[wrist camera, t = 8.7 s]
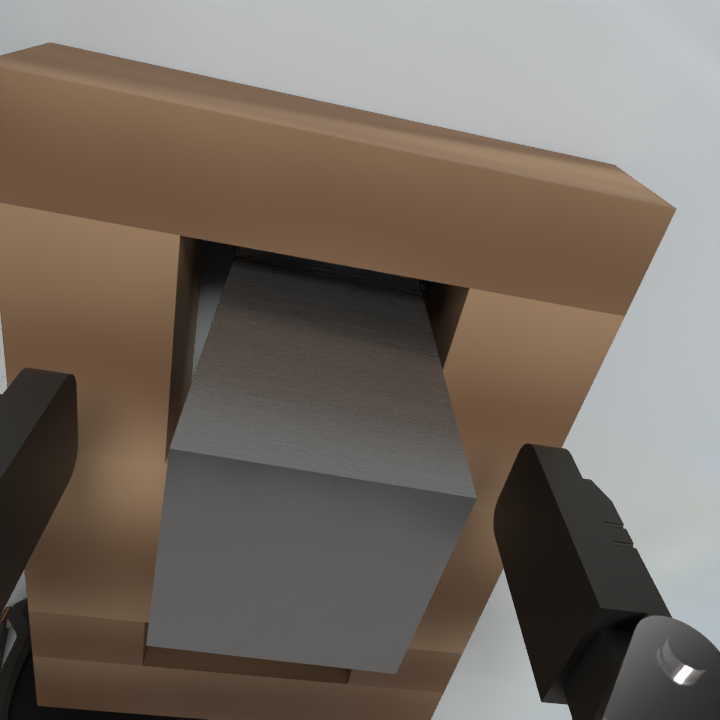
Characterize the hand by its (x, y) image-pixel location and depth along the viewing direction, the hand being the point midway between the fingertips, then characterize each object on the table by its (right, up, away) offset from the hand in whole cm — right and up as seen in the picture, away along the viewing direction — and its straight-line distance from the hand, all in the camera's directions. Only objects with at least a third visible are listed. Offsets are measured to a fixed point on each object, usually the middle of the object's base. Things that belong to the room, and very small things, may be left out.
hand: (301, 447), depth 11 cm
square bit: (0, +3, +4) cm, 5 cm away
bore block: (-1, -1, +6) cm, 6 cm away
